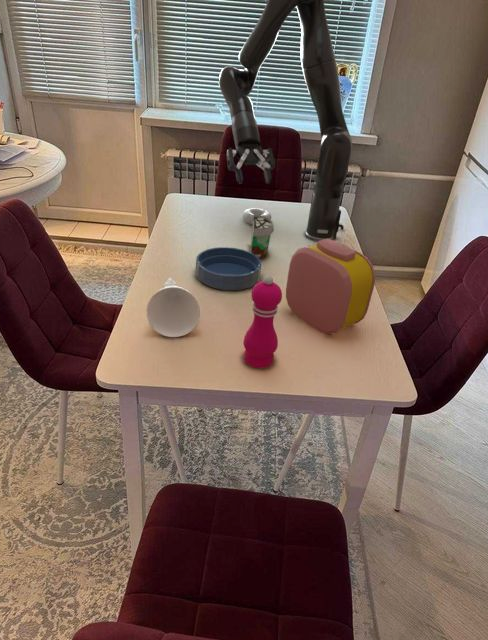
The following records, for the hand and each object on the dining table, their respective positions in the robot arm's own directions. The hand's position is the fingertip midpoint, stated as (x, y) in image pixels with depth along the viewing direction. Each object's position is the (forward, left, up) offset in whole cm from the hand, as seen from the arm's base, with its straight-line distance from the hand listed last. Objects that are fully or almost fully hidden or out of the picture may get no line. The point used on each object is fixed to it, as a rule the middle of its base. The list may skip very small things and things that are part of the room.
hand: (255, 182), depth 146 cm
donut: (-8, -15, -19) cm, 25 cm away
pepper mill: (+19, +60, -19) cm, 65 cm away
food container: (0, +10, -19) cm, 21 cm away
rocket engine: (+32, +40, -19) cm, 54 cm away
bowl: (+14, +22, -18) cm, 32 cm away
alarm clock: (-2, +48, -19) cm, 51 cm away
